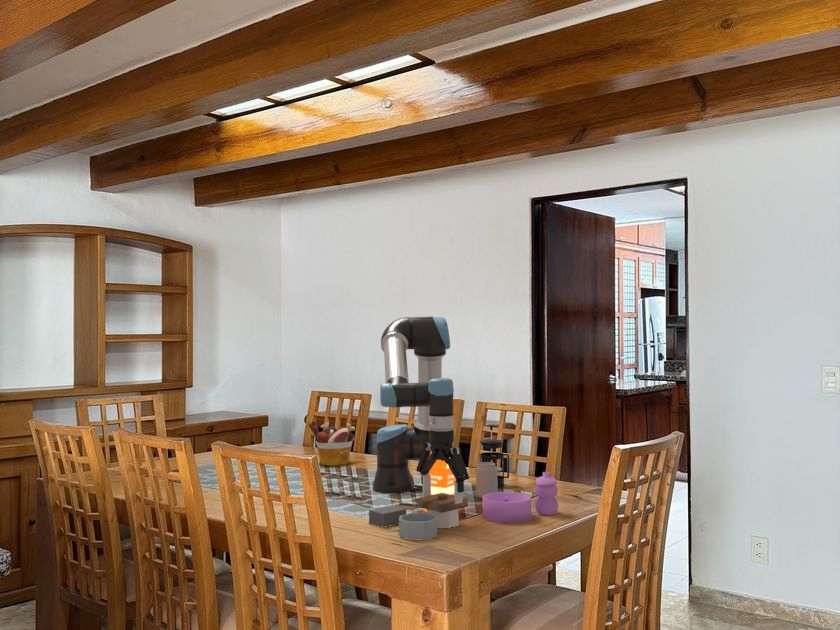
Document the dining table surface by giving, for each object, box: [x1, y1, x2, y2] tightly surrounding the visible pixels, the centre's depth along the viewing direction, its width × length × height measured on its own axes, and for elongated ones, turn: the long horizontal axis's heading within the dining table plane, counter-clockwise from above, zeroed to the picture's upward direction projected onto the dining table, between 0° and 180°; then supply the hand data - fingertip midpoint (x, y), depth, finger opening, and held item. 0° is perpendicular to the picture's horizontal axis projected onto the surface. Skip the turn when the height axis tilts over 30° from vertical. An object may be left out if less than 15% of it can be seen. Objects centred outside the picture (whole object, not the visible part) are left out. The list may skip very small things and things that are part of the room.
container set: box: [481, 471, 559, 524], centre depth 245 cm, size 25×15×13 cm, turn 106°
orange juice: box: [422, 451, 456, 513], centre depth 253 cm, size 8×9×20 cm
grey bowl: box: [398, 512, 438, 541], centre depth 224 cm, size 11×11×5 cm
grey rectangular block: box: [368, 505, 407, 528], centre depth 238 cm, size 7×9×4 cm
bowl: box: [426, 509, 460, 529], centre depth 235 cm, size 10×10×6 cm
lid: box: [416, 493, 469, 513], centre depth 235 cm, size 11×11×4 cm
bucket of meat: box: [308, 419, 356, 467], centre depth 341 cm, size 20×16×20 cm
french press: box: [479, 424, 510, 489], centre depth 290 cm, size 12×9×23 cm
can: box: [475, 461, 499, 499], centre depth 271 cm, size 8×8×12 cm
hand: (442, 499), depth 235 cm, fingers open, 13 cm apart
